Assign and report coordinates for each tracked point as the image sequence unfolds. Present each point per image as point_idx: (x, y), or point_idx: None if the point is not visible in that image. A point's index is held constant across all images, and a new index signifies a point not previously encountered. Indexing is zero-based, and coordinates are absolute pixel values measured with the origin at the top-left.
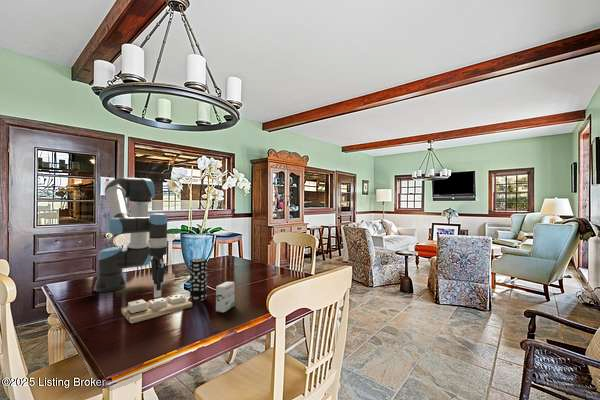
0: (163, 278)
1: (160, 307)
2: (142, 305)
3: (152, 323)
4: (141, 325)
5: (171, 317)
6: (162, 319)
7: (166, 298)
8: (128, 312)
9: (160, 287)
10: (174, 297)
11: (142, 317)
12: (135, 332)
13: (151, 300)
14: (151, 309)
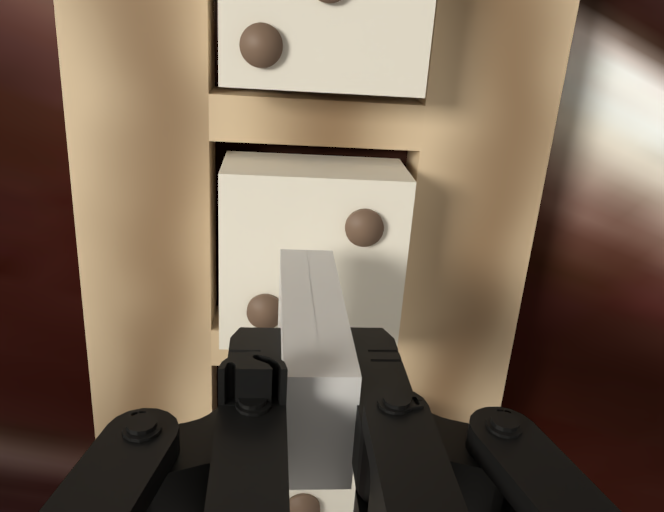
0: (593, 484)
1: (412, 246)
2: None
3: (618, 374)
4: (575, 444)
5: (650, 203)
6: (615, 284)
7: (105, 48)
8: None
9: (398, 358)
10: (347, 22)
11: None
12: (659, 502)
13: (242, 324)
14: None
